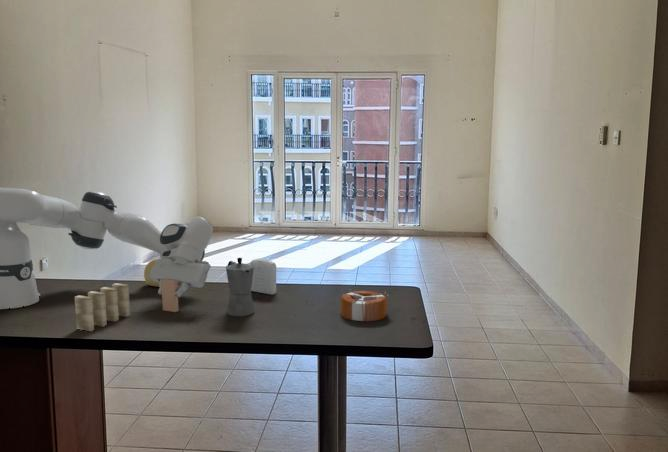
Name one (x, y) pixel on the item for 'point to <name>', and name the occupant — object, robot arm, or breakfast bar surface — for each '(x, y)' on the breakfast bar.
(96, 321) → the domino
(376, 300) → the coil
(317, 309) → the breakfast bar surface
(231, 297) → the coffeepot
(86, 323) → the domino
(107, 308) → the domino
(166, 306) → the domino
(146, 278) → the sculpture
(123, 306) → the domino
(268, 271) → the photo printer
